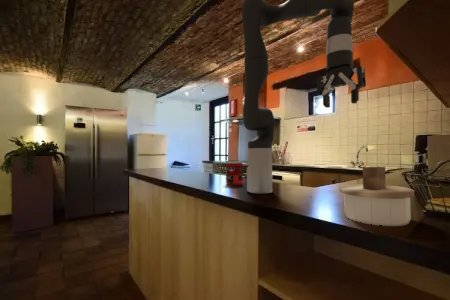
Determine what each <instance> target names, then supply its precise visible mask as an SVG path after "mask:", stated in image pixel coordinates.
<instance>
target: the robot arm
mask: <svg viewBox="0 0 450 300" xmlns="http://www.w3.org/2000/svg"><path fill="white" fill-rule="evenodd" d="M354 3H355V1H354V0H286V1H284V3H281V4H268V3H267V2H266V1H265V0H244V2H243V5H242V7H241V22H242V28H243V29H242V30H243V38H244V40H243V42H244V101H243V102H244V103H243V113H242V120H243V126H244V127H245V129H246V130H247V131H250V132H252V131H253V132H256V136H255V137H254V138H253V139H251V140H249V141H248V142H247V154H248V155H247V159H248V160H247V161H248V166H247V167H246V191H247V192H249V193H251V194H270V193H273V157H272V156H273V152H272V150H273V149H272V146H273V144H272V143H273V141H274V135H275V134H274V132H275V129H274V128H275V118H274V113H273V112H272V110H271V109H270V108H266V107H259V98H260V97H259V96H260V92H261V90H262V88H263V86H264V84H265V82H266V80H267V78H268V74H269V55H268V51H267V48H266V44H265V42H264V39H263V35H262V33H261V28H263V27H267V26H270V25H274V24H277V23H280V22H283V21H288V20H293V19H300V18H302V19H303V18H309V17H311V18H312V17H316V16H318V15H319V14H320V13H321V12H322V11H323V10H328V11H329V12H330V20H329V22H328V24H327V26H326V48H325V50H326V51H325V53H326V59H325V60H326V72H327V73H326V75H324V76H320V75H319V76H317V82H316V83H317V85H316V87H317V88H316V95H318V96H319V95H320V96H322V105H323V106H324V108H331V96H330V95H331V93H332V92H333V91H334V90H335V89H336V88H339V87H341V86H349V88H351V90H350V102H351V104H358V102H359V100H360V96H359V95H360V94H359V93H360V92H359V91H360V90H361V89H362V88H365V87H366V86H367V80H366V69H365V66H364V67H363V66H362V65H357V67H354V44H353V43H354V42H353V38H352V37H353V34H352V33H353V32H352V30H353V29H352V20H353V16H354V9H355V8H354V7H355V4H354ZM354 74H355V75H356V76H357V79H356V80H357V84H356V81H354V79H352V78H353V76H354ZM326 82H327V83H326ZM325 83H326V84H325Z"/></svg>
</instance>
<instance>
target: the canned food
mask: <svg viewBox="0 0 450 300" xmlns="http://www.w3.org/2000/svg"><path fill="white" fill-rule="evenodd" d="M243 177H244V176H243V161H226V162H225V180H226V183H225V184H226V185H227V186H241V185H243V181H244V179H243Z"/></svg>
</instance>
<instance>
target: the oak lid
mask: <svg viewBox="0 0 450 300" xmlns="http://www.w3.org/2000/svg"><path fill="white" fill-rule="evenodd" d="M339 192H340V193H341V194H343V195H344V194H348V195H353V196H360V197H369V198H385V199H400V198H410V199H411V198H413V197H415V190H414V189H412V188H408V187H403V186H397V185H388V184H387V185H386V167H385V166H374V165H373V166H372V165H371V166H365V167H362V183H352V184H351V183H350V184H349V183H348V184H342V185H340V186H339Z"/></svg>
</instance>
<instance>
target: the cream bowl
mask: <svg viewBox="0 0 450 300" xmlns="http://www.w3.org/2000/svg"><path fill="white" fill-rule="evenodd" d="M343 204H344V205H343V208H344V209H343V210H344V216H346V217H345V218H346V219H348V218H349V220H351V221H352V222H353V221H354V222H356V221H357V222H358V223H360V222H361V223H362V224H366V225H371V224H372V226H379V225H382V227H403V226H406V225H409V224H410V221H412V220H411V219H412V218H411V216H412V215H411V214H412V213H411V197H410V198H400V199H385V198H369V197H360V196H353V195H348V194H344V193H343ZM361 223H360V224H361Z"/></svg>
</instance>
